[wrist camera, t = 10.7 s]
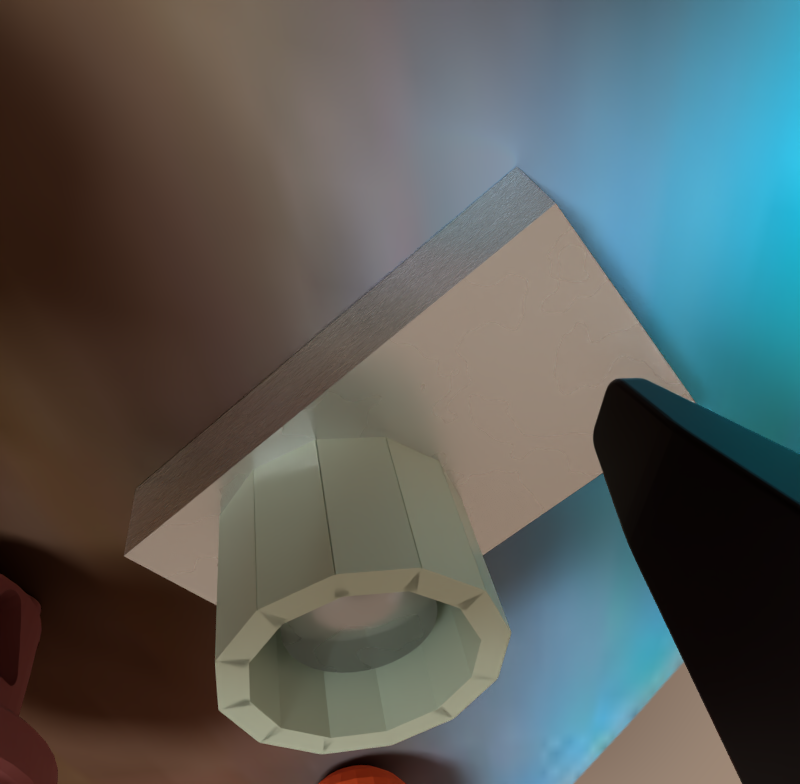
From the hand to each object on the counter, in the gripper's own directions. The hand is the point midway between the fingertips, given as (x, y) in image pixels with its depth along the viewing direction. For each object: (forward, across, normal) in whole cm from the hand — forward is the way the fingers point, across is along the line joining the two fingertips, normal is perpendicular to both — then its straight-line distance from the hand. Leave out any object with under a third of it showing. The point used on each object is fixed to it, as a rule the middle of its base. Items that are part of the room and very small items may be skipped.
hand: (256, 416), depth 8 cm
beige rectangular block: (+12, -5, +9) cm, 16 cm away
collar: (+9, -3, +11) cm, 15 cm away
